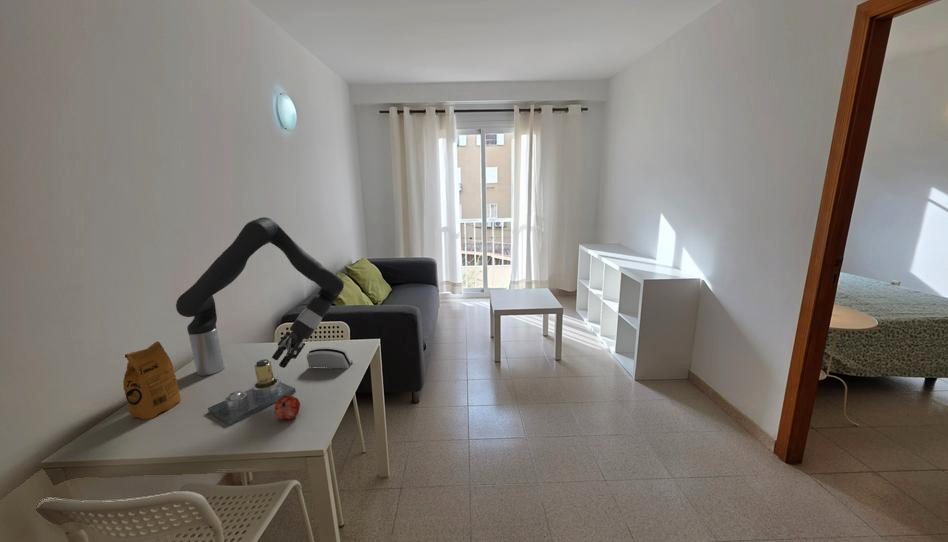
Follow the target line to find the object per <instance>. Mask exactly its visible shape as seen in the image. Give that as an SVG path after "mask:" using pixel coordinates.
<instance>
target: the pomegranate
mask: <svg viewBox="0 0 948 542" xmlns="http://www.w3.org/2000/svg"><path fill="white" fill-rule="evenodd" d="M300 408H301V402H300V399H298V398H297V397H295V396H293V395H292V394H291V395H284V396H282V397H281V398H280V399H279V400H278V401H277V402H275V403H274V414H275V416H276V417H277V418H278V419H280V420H292V419H295V418H296V416H297V415H298V414H299V412H300Z"/></svg>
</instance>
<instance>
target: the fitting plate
mask: <svg viewBox="0 0 948 542" xmlns="http://www.w3.org/2000/svg"><path fill="white" fill-rule="evenodd" d="M273 377H274V382H275V384H274V385H272V386H270V387H266V388H259V387H258V382H257V380H256V381H255V382H254V383H253V384H252V385H251V388H249V389H248V390H245V391H242V390H236V391H233V392H231V393H229V395H228V396H227V397H225V400H223V401H221V402H219V403H217V404H214V405H211V406H210V407H208V408H207V413H208V414H210V415H212V416H214V417H216V418H217V419H219V420H220V421H222V422H224V423H225V424H227V425H228V426H232V425H233V424H235V423H237V422H239V421H241V420H243V419H245V418H247V417H249V416H251V415H253V414H255V413H257V412H259V411H262V410H263V409H265V408H267V407H270V406H271V405H273V404H276V401H278V400H279V399H280V398H281V397H282V396H284V395H290V394H291V395H292V393H293V394H295V393H296V392H297V391H296V387H293V386H291V385H288V384H286V383H284V382H282V381H281V378H279V377H278V376H273ZM294 392H295V393H294Z"/></svg>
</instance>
